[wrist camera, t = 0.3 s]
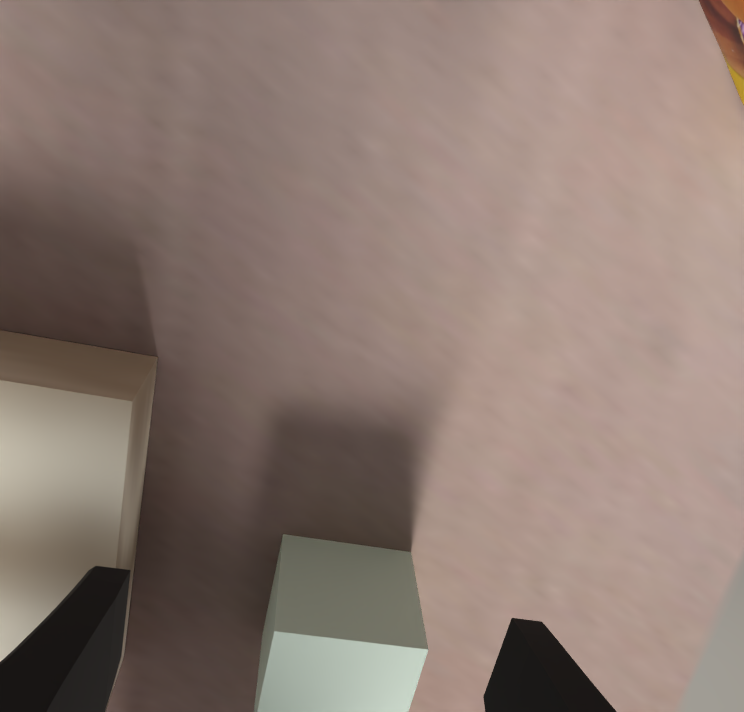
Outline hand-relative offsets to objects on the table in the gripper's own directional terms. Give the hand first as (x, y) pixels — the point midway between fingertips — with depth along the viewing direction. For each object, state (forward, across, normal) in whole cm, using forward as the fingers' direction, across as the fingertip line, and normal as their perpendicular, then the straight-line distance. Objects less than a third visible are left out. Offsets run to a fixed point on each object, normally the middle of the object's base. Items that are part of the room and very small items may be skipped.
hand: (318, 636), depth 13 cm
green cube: (+10, -2, +7) cm, 12 cm away
